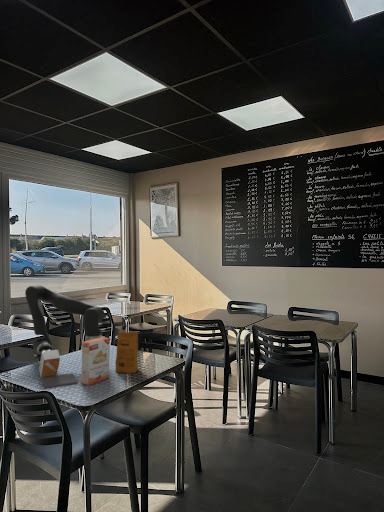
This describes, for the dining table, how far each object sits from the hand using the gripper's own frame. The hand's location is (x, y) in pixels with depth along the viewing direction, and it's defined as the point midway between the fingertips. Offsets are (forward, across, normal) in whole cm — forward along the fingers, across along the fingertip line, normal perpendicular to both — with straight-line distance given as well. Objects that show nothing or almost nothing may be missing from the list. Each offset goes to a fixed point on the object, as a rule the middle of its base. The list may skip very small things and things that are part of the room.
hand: (47, 357), depth 191 cm
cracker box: (+18, +21, +10) cm, 30 cm away
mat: (+11, +5, +10) cm, 15 cm away
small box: (0, 0, +8) cm, 8 cm away
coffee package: (+9, +40, +10) cm, 42 cm away
